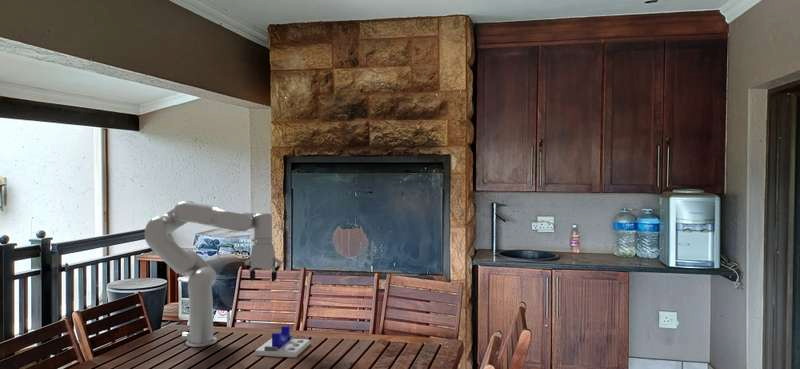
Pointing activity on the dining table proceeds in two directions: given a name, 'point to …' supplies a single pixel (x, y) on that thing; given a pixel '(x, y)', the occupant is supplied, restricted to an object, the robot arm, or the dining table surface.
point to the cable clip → (281, 337)
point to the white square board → (283, 348)
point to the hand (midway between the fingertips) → (263, 280)
